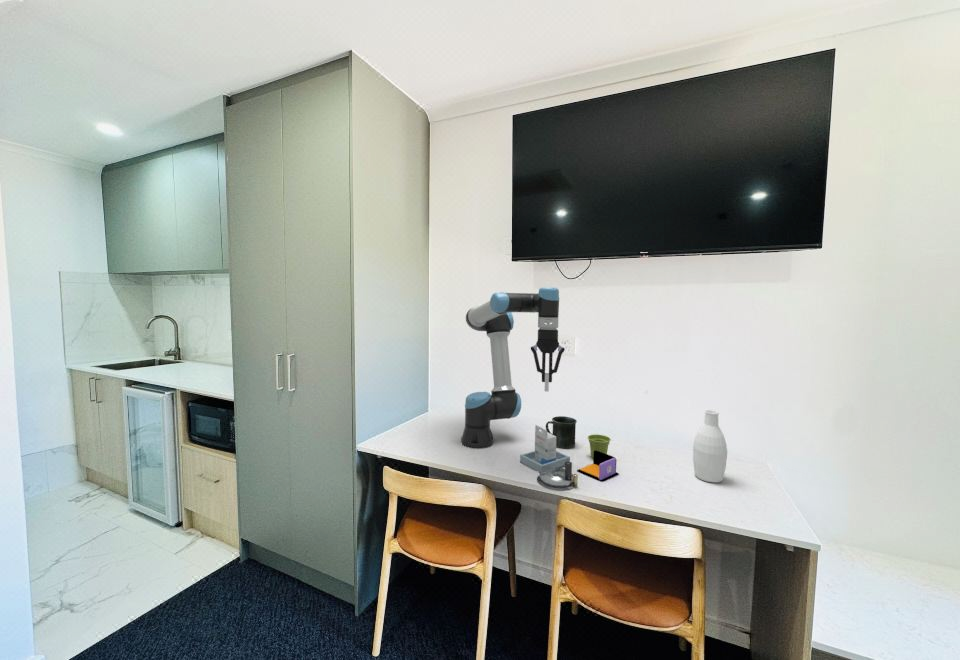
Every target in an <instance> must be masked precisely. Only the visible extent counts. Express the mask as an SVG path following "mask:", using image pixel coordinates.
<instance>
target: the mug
mask: <svg viewBox="0 0 960 660" xmlns="http://www.w3.org/2000/svg"><path fill="white" fill-rule="evenodd" d="M577 422H578V421H577V419H575V418H573V417H570V416H563V415H562V416H561V415H560V416H559V415H558V416H553V417H552V418H551V420H550V421H547V422H546V423H545V430H547V432H548V433H550V434H552V435H554V436H556V448H559V449H566V450H567V449H572V448H574V447H575V446H576V424H577ZM549 424H550V425H552V432H550V428H549Z"/></svg>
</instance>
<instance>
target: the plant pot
mask: <svg viewBox="0 0 960 660" xmlns="http://www.w3.org/2000/svg"><path fill="white" fill-rule="evenodd" d="M587 439H588V442H589V449H590V457H591V459H593V455H594V451H595V450H596V451H599V452H602V453H605V454H608V450H609V445H610V442H611V441H612V439H611V437H610V436H608V435H603V434H598V433H597V434H590V435H588V436H587Z"/></svg>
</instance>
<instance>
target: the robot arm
mask: <svg viewBox="0 0 960 660" xmlns="http://www.w3.org/2000/svg"><path fill="white" fill-rule="evenodd" d="M559 307H560V291H559V289H558V288H557V287H552V286H551V287H547V286H546V287H540V288H538V293H535V292H534V293H533V292H531V293H525V292H523V293H522V292H521V293H519V292H504V291H503V292H494V293H492V295H491V296H490V299H489V300H488V301H487V302H485V303H484V304H482V305H479V306H477V305H476V306H473V307H472V308H469V310H468V311H467V313H466V314H465V322H466V324H467V326H468V327H469V328H471V329H472V330H475V331H477V332H486V336H487V338H489V341H490V342H489V343H490V353H491V366H492V367H491V368H492V376H493V388H492V390H491V391H490V392H491V393H490V392H488V391H477V392H471V393H470V394H468V395H467V396H466V397H465V401H464V402H465V404H464V408H465V409H464V414H465V415H464V419H465V420H464V429H463V432H462V435H461V439H460V443H462V444H461V445H462V446H463V445H464V446H463V447H465V446H466V448H468V447H469V449H475V450H478V449H479V450H480V449H482V450H483V449H488V448H491V447H493V445H494V443H495V442H494V435H493V433H492V429H491V421H496V420H505V419H512V418H516V417H517V416H518V415H519V414H520V413H521V409H522V399H521V396H520V395H521V394H519V393H518V392H516V388H515V387H513V383H512V375H511V365H510V364H511V363H510V362H511V361H510V351H509V341H508V339H509V338H508V337H509V335H510V334H511V331H512V330H513V328H514V324H515V321H514V314H512V313H530V314H531V313H533V314H534V313H537V316H538V317H537V327H538V330H537V341H536V344H534V345H533V346H530V350H531V352H532V353H533V359H534V363H535V368H536V372H537V373H540V374H541V382H542V383H544V392H547V393H548V392H550V391H549V389H550V388H549V387H550V386H549V385H550V384H549V383H552V382H553V374H556V373H558V370H559V367H560V362H561V358H562V355H563V354H564V352H565V351H566V350H565V347H563V346H561V345H560V342H559V330H558V329H559V316H560V315H559V312H560V311H559V310H560V308H559ZM538 350H539V351H540V353H542V354H541V359H542V360H541V366H540V362H539V356H538V353H537V351H538ZM556 350H557V351H558V353H557V356H556V361H555V364H554V366H553V356H554V355H553V353H555V352H556ZM546 354H548V372H546V359H547V358H546ZM553 367H554V368H553Z"/></svg>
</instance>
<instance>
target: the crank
mask: <svg viewBox="0 0 960 660" xmlns="http://www.w3.org/2000/svg"><path fill="white" fill-rule="evenodd" d="M572 469H573V462H571V461H570V462H569V461H566V462H565V467H564V468H563V467H562V468H558V467H548V468H544V469H542V470H541V471H540V473H539V475H540V480H541V482H542V483H544V484H546V485H548V486H551V487H557V488H564V487H568V486H571V485H572V484H573V478H574V474H573V470H572Z"/></svg>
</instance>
